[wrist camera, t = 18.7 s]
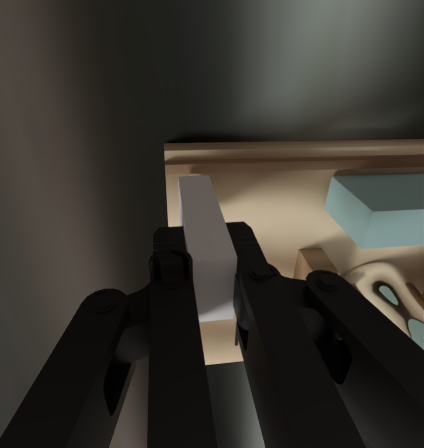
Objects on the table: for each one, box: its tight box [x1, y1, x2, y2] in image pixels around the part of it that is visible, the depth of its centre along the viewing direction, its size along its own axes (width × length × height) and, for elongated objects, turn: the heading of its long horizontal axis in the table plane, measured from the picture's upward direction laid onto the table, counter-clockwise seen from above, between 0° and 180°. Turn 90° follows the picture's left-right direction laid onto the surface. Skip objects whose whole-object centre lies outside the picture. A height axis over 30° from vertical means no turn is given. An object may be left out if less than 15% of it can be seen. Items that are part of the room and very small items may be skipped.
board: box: [164, 139, 424, 365], centre depth 21 cm, size 17×26×4 cm, turn 89°
